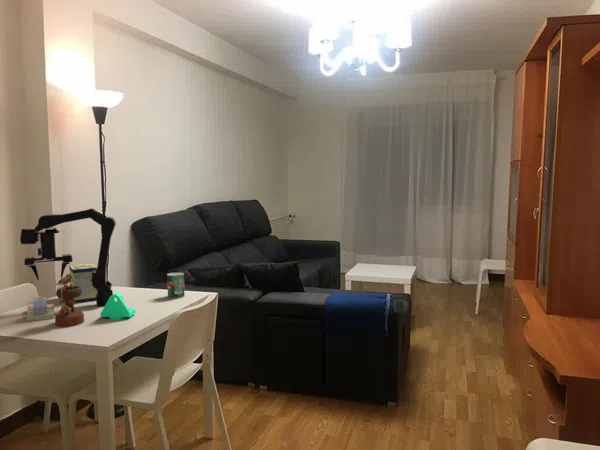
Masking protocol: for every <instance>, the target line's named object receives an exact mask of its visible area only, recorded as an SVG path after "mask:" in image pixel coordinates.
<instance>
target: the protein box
mask: <svg viewBox="0 0 600 450" xmlns="http://www.w3.org/2000/svg"><path fill="white" fill-rule="evenodd" d="M68 269H69V270H68V271H69V274H71V275H72V279H71V282H69V285H70V284H72V285H73V286H79V287H80V288H81V290H82V293H81V295H80V296H79V297H77V298H74V300H75V301H76V303H75V304H77V303H78V304H79V303H87V302H94V301H95V302H96V294H97V289H95V288H94V287H93V286H92V282H91V280H92V272H93V271H94V270H95V271H96V270H97V266H96V265H94V264H93V263H92V262H87V263H78V264H68Z"/></svg>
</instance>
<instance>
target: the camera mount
mask: <svg viewBox="0 0 600 450" xmlns="http://www.w3.org/2000/svg"><path fill="white" fill-rule="evenodd" d="M123 298H124V297H123V294H122V293H119V292H115V293H113V295H112V296H110V298H109V300H108V301H107V303H106V305H105V306H103V308H102V310H101V312H100V317H101V318H109V320H122V319H123V318H130V317H132V316H133V315H136V313H137V312H136V310H137V309H136V308H135V307H134V308H130V307H128V306H127V304H126V303H125V301H124V299H123Z"/></svg>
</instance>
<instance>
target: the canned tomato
mask: <svg viewBox="0 0 600 450" xmlns="http://www.w3.org/2000/svg"><path fill="white" fill-rule="evenodd" d="M166 276H167V278H166V280H167V298H169V299H181V298H184V297H185V295H186V294H185V273H184V272H181V271H180V272H169V273H167V274H166Z"/></svg>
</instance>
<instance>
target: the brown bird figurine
mask: <svg viewBox="0 0 600 450" xmlns="http://www.w3.org/2000/svg"><path fill="white" fill-rule="evenodd" d="M71 279H72V275H71V274H70V273H67V274H66V275H65V276H64V277H62V278H60V279H59V280H58V282H57V283H55V285H58V286H61V287H59V288H57V290H56V291H55V296H56V297H57V298H58V299H60V300H59V304H60V305H62V306H61V308H60V310H59V313H57V314H55V315H54V322H55V326H56V327H59V328H60V327H61V328H62V327H64V328H65V327H66V328H68V327H75V326H79V325H82V324H83V323H84V322H85V313H84V312H82V311H81V310H75V304H77V303H76V301H75V300H74V298H77V297H79V296H80V295H81V293H82V290H81V288H80V287H79V286H73V285H72V284H70V282H71ZM64 303H65V304H64ZM63 304H64V305H63ZM70 309H71V310H70Z"/></svg>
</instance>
